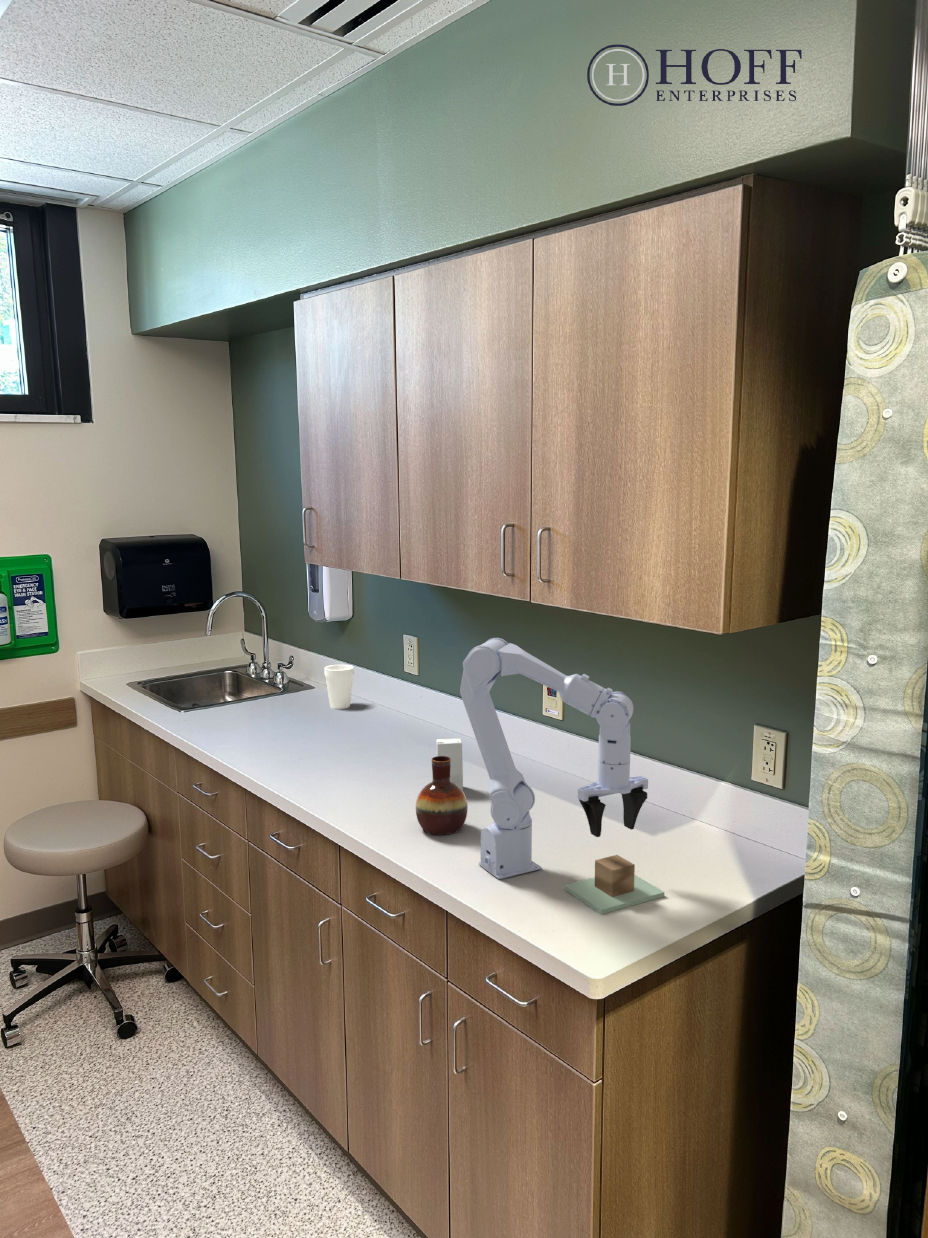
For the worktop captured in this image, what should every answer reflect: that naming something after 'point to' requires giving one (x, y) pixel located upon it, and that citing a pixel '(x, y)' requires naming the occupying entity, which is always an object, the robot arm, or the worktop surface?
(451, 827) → the vase
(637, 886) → the sage board
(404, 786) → the worktop surface
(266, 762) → the worktop surface
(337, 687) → the foam cup
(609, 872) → the walnut block
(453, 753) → the skincare box
